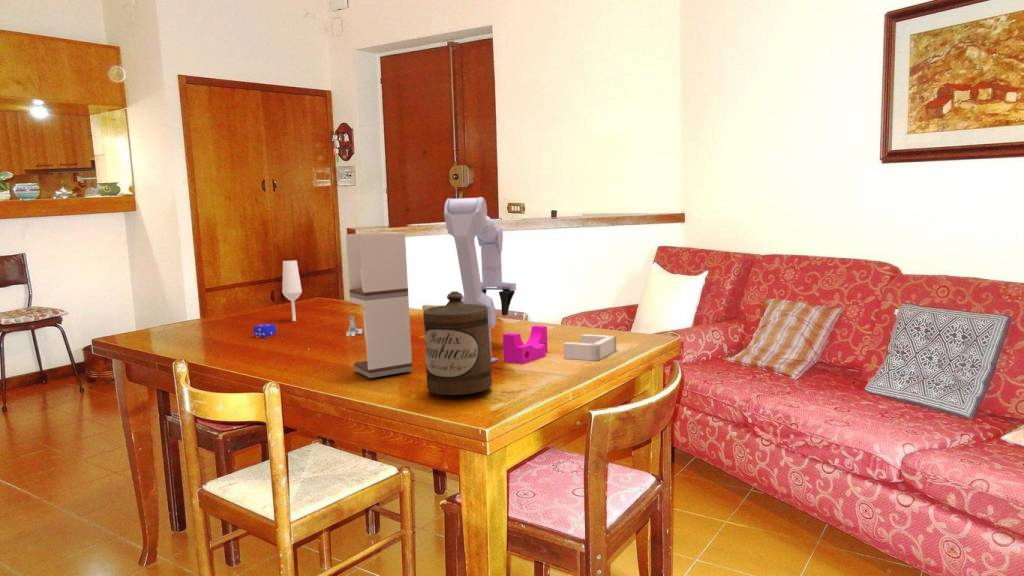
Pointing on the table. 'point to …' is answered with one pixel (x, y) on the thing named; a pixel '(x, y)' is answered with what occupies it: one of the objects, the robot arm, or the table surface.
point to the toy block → (525, 346)
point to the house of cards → (353, 328)
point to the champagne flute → (291, 283)
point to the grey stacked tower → (381, 300)
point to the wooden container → (457, 347)
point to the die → (264, 330)
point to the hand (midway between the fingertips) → (493, 314)
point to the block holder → (590, 347)
